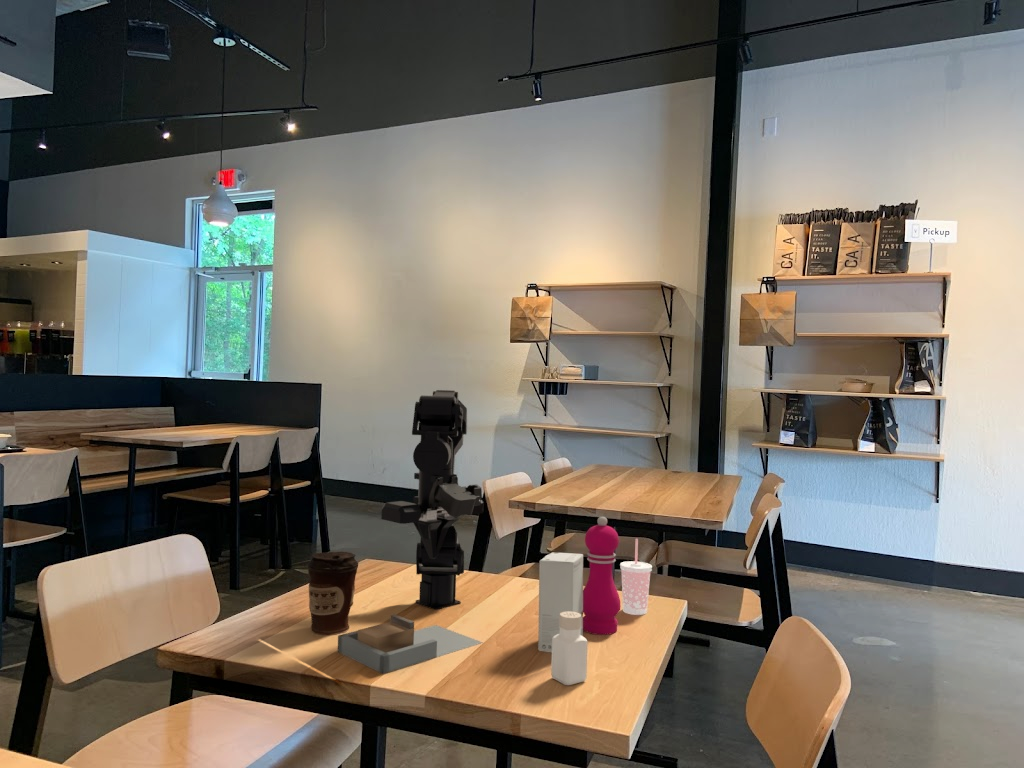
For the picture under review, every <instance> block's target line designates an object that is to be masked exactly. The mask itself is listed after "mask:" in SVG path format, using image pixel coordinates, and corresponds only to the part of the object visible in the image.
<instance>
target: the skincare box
mask: <svg viewBox="0 0 1024 768" xmlns="http://www.w3.org/2000/svg"><path fill="white" fill-rule="evenodd" d="M538 563H539V569H538V570H539V572H538V573H539V574H538V575H539V576H538V577H539V579H538V637H537V638H538V639H537V640H538V643H537V644H538V651H539V652H547V653H552V638H553V637H554V636H555V635H557V634H560V628H559V618H560V613H562V612H567V611H570V612H577V613H579V614H581V630H580V635H582V636H583V637H584V630H583V617H584V613H583V590H584V554H583V553H575V552H574V553H571V552H558V551H557V552H554V551H553V552H551V553H549V554H547V555H545V556H544V557H543V558H542V559H540V560H539V562H538Z"/></svg>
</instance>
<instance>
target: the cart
mask: <svg viewBox="0 0 1024 768" xmlns="http://www.w3.org/2000/svg"><path fill="white" fill-rule="evenodd" d="M357 631H358V641H360V642H362V643H364V644H367V645H369V646H371V647H373V648H376V649H378V650H380V651H382V652H385V653H387V652H391V651H394V650H398V649H401V648H404V647H408V646H411V645H414V631H415V621H414V620H411V619H407V618H405V617H403V616H400V615H398V614H392V615H390V621H388V622H384V623H380V624H375V625H372V626H368V627H365V628H360V629H358V630H357Z"/></svg>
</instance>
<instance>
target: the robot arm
mask: <svg viewBox="0 0 1024 768" xmlns="http://www.w3.org/2000/svg"><path fill="white" fill-rule="evenodd" d="M414 403H415V404H414V410H413V411H414V412H413V421H412V427H411V428H412V430H411V435H412V436H420V440H419V442H418V444H417V445H416V446H415V448H414V450H413V454H412V455H413V456H412V458H413V463H414V465H415V466H416V468H417V470H418V472H414V475H413V477H414V478H413V479H414V480H418V495H417V496H413V502H409V501H404V500H398V501H397V500H396V501H390V502H385V503H384V505H383V506H382V508H381V517H380V519H381V520H383V521H387V522H388V521H389V522H390V523H391V522H392V523H397V524H412V523H413V525H414V527H415V529H416V530H417V532H418V534H419V536H420V540H419V541H420V542H419V541H418V542H417V543H416V551H415V553H416V558H415V559H416V560H415V561H416V566H415V568H416V575H421V576H420V577H421V581H419V599H416V600H415V604H418V605H421V606H423V607H426V608H428V609H429V608H430V609H431V610H435V611H438V610H441V609H445V608H450V607H455V606H457V605H461V603H462V602H461V600H458V599H456V591H457V588H456V587H457V576H460V575H463V574H464V573H465V550H463V547H462V543H461V542H460V543H459V537H458V531H457V530H456V527H455V526H454V523H456V522H458V521H460V519H461V517H460V516H471V515H479V514H483V513H484V501H483V500H482V498H483V493H482V487H481V486H480V485H478V484H476V483H475V484H469V485H468V486H461V485H459V478H458V474H455V460H456V459H455V458H456V455H457V453H458V452H459V451H460V449H461V448H462V447H463V445H464V436H465V435H467V434H468V433H467V432H468V408H467V407H466V405H464V404H463V402H461V400H459V392H458V391H455V390H448V389H447V390H446V389H445V390H442V389H441V390H440V389H437V390H435V391H432V395H420V396H419V399H418V401H415V402H414Z"/></svg>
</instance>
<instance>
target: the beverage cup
mask: <svg viewBox="0 0 1024 768" xmlns="http://www.w3.org/2000/svg"><path fill="white" fill-rule="evenodd" d="M634 544H635V547H634V548H635V549H634V550H635V551H634V560H633V561H632V560H631V561H629V560H627V561H623V562H620V564H619V566H620V568H619V569H620V570H621V594H622V595H621V596H622V599H621V600H622V611H623V612H624V613H625V614H629V615H632V616H634V615H636V616H640V615H641V616H642V615H645V614H647V613H648V603H649V591H650V580H651V572H652V571H653V569H652V568H653V565H652V564H650V563H648V562H644V561H638V556H639V555H638V553H639V552H638V551H639V538H635V543H634Z"/></svg>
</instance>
